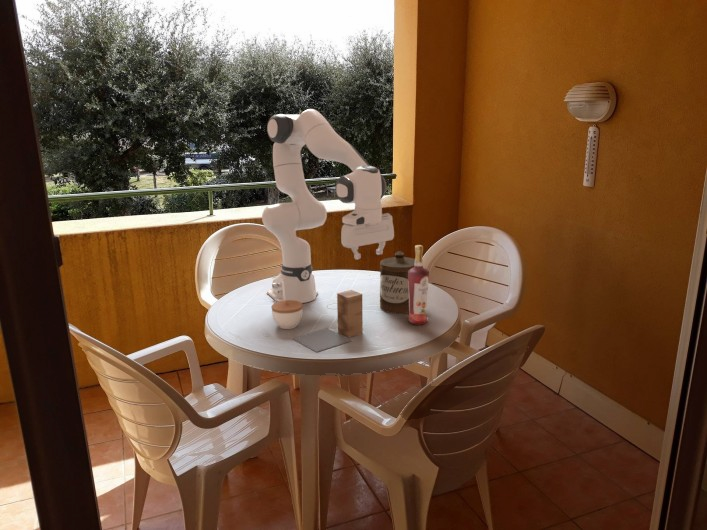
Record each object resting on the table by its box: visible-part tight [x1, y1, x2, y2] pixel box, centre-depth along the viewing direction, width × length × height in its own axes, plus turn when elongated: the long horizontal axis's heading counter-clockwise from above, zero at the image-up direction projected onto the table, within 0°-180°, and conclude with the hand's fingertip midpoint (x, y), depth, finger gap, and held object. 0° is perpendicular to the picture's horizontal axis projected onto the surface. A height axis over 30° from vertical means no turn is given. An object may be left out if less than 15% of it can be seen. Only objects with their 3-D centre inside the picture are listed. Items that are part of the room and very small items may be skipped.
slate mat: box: [292, 327, 353, 353], centre depth 184 cm, size 14×14×1 cm
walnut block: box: [336, 289, 364, 339], centre depth 188 cm, size 6×6×14 cm
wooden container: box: [379, 251, 415, 315], centre depth 210 cm, size 15×15×22 cm
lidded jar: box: [271, 300, 303, 330], centre depth 195 cm, size 11×11×9 cm
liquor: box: [407, 244, 430, 326], centre depth 194 cm, size 7×7×28 cm
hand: (368, 256), depth 187 cm, fingers open, 8 cm apart
